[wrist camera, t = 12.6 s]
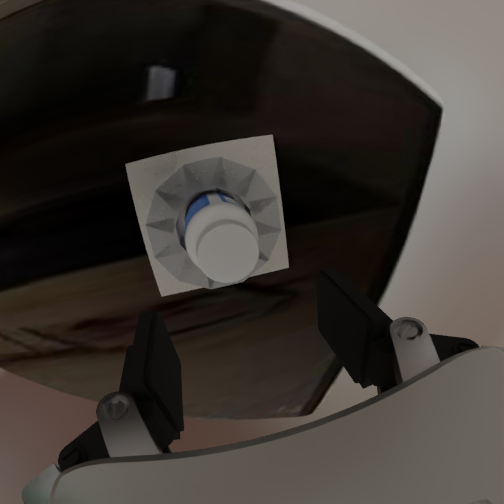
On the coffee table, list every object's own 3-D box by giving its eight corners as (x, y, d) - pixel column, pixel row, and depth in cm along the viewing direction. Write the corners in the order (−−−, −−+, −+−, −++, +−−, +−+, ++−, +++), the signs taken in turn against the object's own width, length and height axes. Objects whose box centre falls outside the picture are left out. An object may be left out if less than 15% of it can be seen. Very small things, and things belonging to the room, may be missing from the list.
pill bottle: (190, 249, 27) (192, 300, 18) (180, 195, 25) (174, 221, 16) (244, 239, 28) (272, 284, 19) (238, 186, 26) (265, 206, 17)
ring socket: (127, 163, 23) (116, 166, 20) (270, 135, 25) (282, 133, 22) (162, 292, 29) (159, 312, 25) (286, 264, 31) (298, 279, 27)
